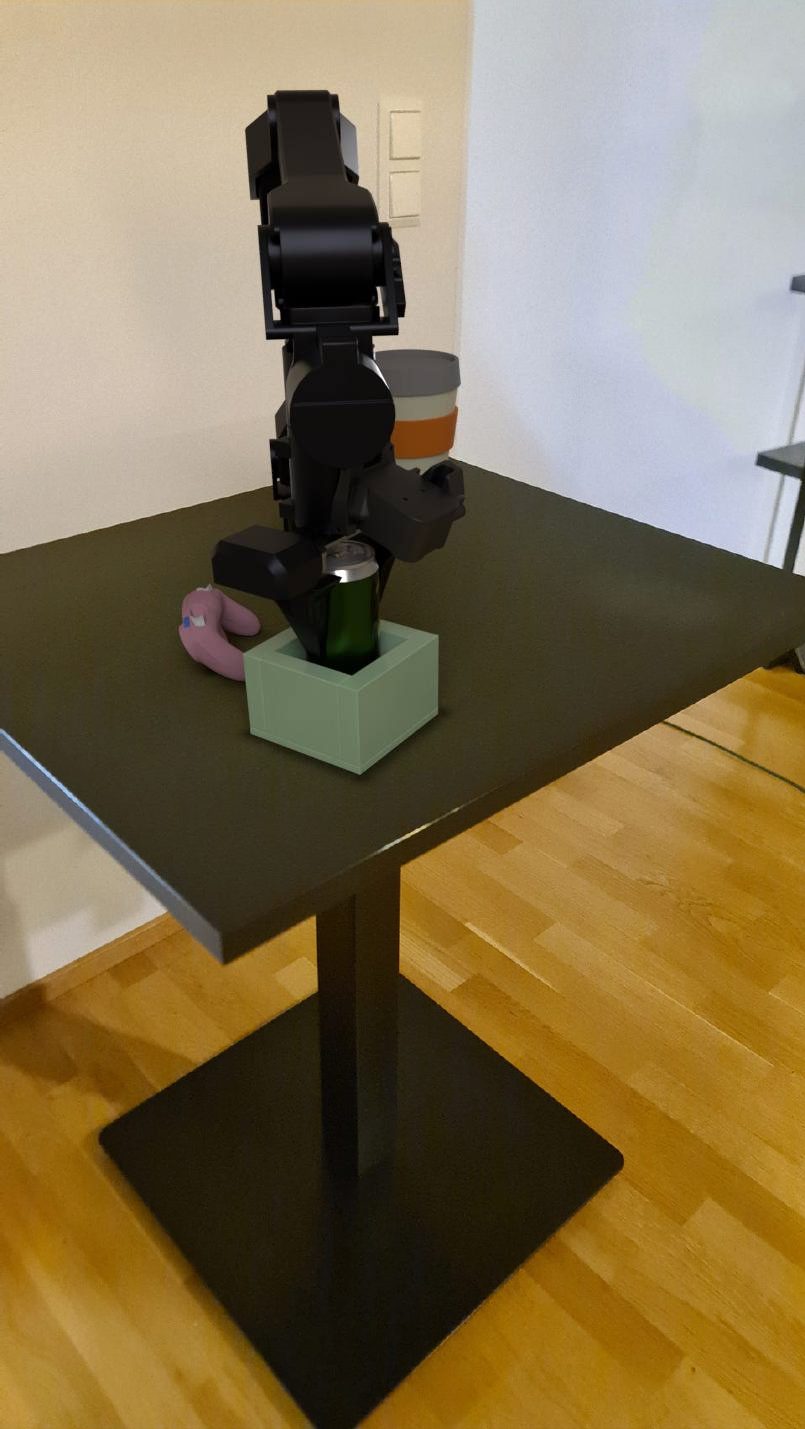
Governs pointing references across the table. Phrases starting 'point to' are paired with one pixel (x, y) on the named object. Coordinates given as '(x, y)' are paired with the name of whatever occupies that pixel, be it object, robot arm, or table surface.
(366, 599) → the beer can
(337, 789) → the table surface
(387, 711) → the holder
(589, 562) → the table surface
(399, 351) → the reusable coffee cup
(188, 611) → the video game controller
